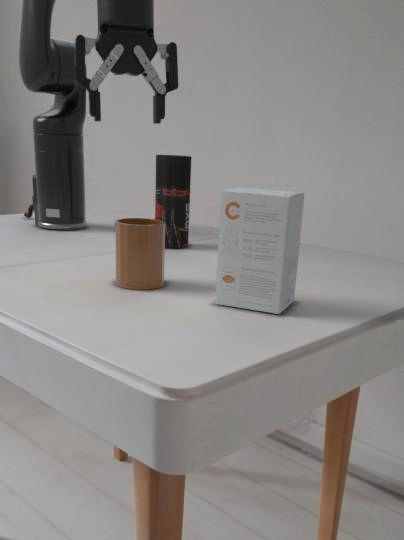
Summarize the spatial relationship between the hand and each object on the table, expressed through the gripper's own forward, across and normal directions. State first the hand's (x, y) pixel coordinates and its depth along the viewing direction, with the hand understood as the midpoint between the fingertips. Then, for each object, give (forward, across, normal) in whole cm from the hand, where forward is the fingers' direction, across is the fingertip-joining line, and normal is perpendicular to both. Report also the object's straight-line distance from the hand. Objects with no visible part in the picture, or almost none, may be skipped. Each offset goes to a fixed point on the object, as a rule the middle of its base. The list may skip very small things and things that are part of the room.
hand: (127, 122), depth 80 cm
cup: (+20, +1, +15) cm, 25 cm away
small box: (+20, -11, +26) cm, 35 cm away
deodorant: (+20, -9, -11) cm, 24 cm away
